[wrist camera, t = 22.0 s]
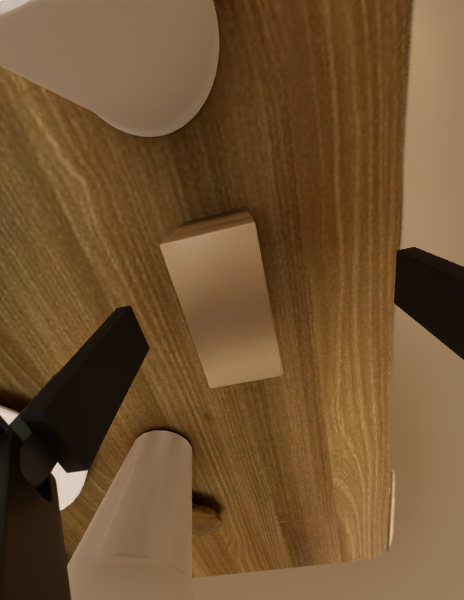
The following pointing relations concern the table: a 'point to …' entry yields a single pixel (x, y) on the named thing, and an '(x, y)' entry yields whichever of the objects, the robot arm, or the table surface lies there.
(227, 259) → the block
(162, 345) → the table surface
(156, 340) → the table surface
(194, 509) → the ginger root
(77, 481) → the plate
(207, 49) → the mug
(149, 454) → the cup
